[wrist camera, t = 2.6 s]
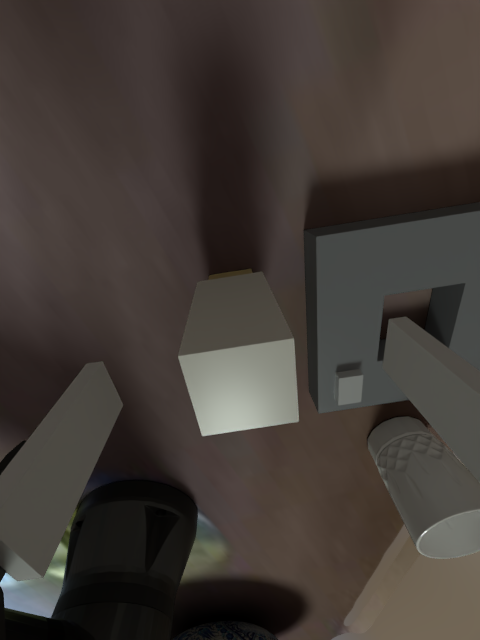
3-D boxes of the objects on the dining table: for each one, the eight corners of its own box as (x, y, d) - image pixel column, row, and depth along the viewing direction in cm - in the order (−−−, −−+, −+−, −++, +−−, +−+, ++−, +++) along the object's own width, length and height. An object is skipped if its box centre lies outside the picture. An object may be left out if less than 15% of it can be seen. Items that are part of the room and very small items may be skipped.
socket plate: (308, 391, 27) (321, 420, 24) (303, 230, 20) (320, 238, 17) (464, 367, 27) (499, 393, 24) (515, 196, 20) (576, 198, 16)
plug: (211, 319, 23) (202, 436, 12) (200, 269, 21) (178, 356, 10) (263, 311, 23) (299, 421, 12) (257, 260, 21) (293, 338, 10)
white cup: (359, 421, 30) (418, 521, 21) (430, 404, 29) (522, 500, 20) (363, 464, 33) (415, 566, 24) (427, 449, 33) (503, 548, 24)
